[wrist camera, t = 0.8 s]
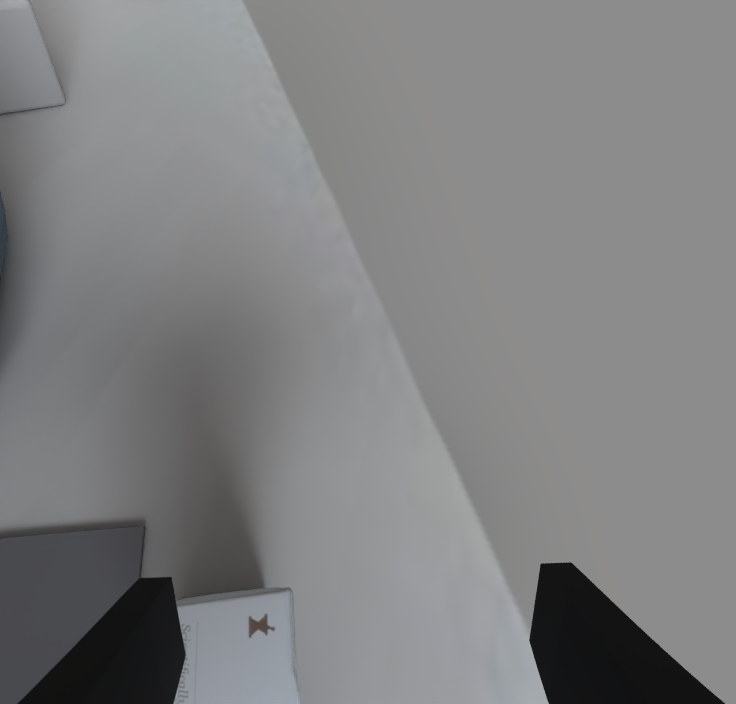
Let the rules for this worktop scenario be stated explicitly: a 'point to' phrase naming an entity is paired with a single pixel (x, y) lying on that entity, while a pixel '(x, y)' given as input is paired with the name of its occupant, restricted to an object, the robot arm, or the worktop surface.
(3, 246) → the tan and blue container
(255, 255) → the worktop surface
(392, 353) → the worktop surface
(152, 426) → the worktop surface
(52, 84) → the medicine bottle
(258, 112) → the worktop surface
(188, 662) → the skincare box
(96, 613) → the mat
